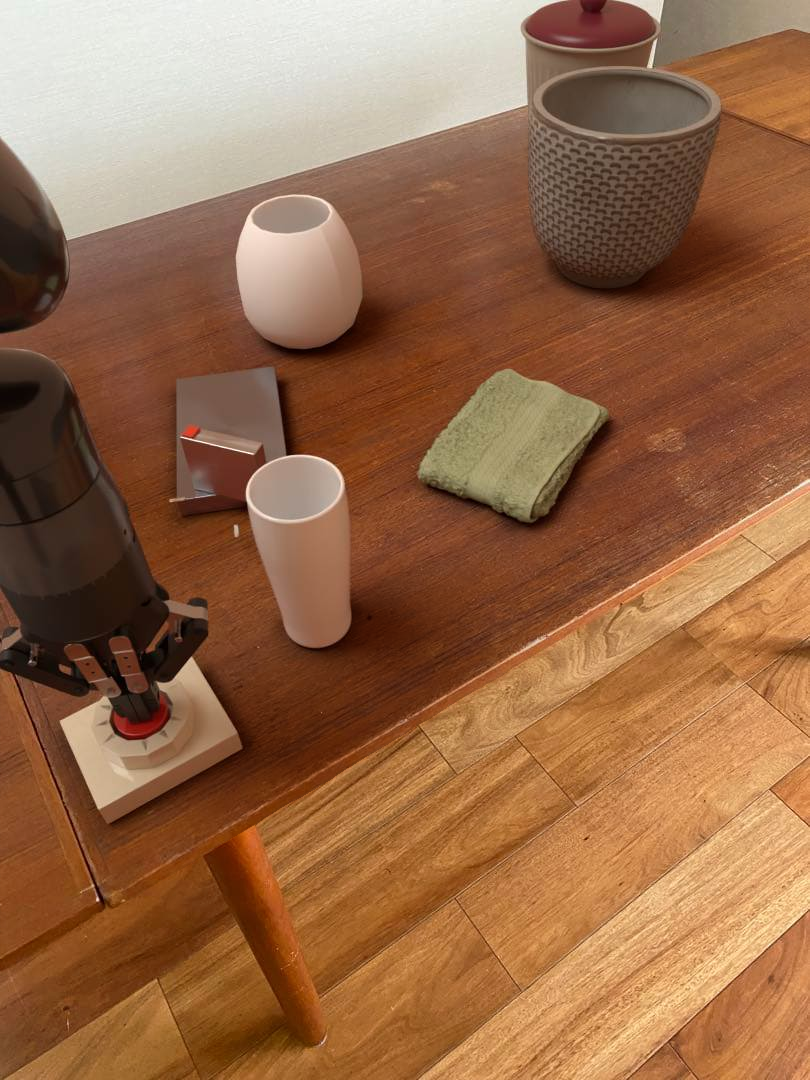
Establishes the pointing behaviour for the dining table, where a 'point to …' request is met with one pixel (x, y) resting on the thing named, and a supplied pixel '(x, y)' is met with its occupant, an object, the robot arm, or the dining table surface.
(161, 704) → the button
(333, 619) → the drinking glass
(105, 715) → the button block
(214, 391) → the base
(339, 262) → the cup
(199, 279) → the dining table surface
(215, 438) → the spout
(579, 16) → the canister
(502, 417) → the washcloth
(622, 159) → the planter
